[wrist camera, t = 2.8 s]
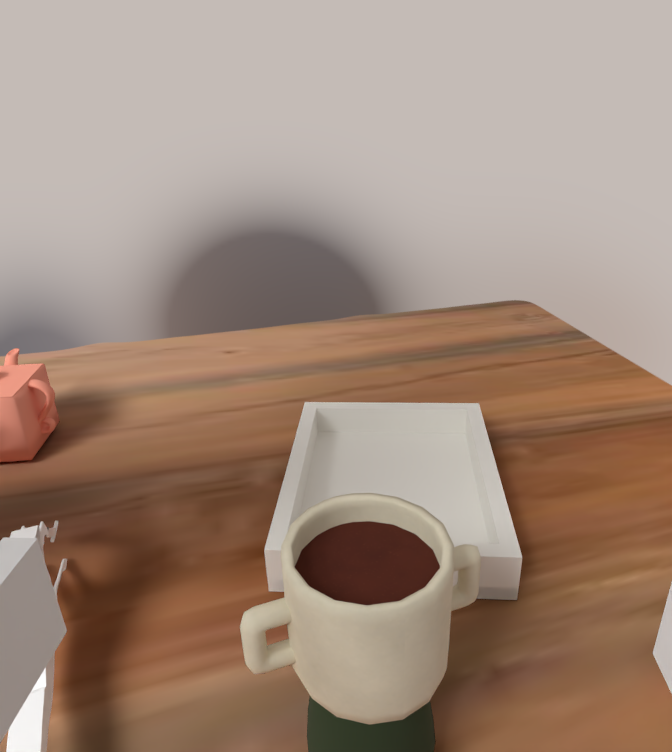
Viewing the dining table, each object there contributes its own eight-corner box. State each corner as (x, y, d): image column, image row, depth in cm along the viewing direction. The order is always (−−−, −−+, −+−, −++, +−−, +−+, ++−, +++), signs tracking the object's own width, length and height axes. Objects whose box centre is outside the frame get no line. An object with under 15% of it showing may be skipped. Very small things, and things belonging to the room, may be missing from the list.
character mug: (433, 656, 34) (442, 467, 29) (505, 776, 28) (535, 565, 23) (247, 722, 31) (217, 524, 26) (284, 873, 25) (254, 656, 19)
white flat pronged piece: (60, 661, 42) (11, 857, 25) (27, 507, 42) (-47, 603, 25) (87, 653, 43) (57, 839, 26) (55, 501, 42) (2, 589, 25)
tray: (268, 591, 39) (264, 550, 38) (307, 434, 57) (304, 402, 56) (517, 600, 38) (522, 557, 36) (476, 436, 56) (478, 403, 54)
